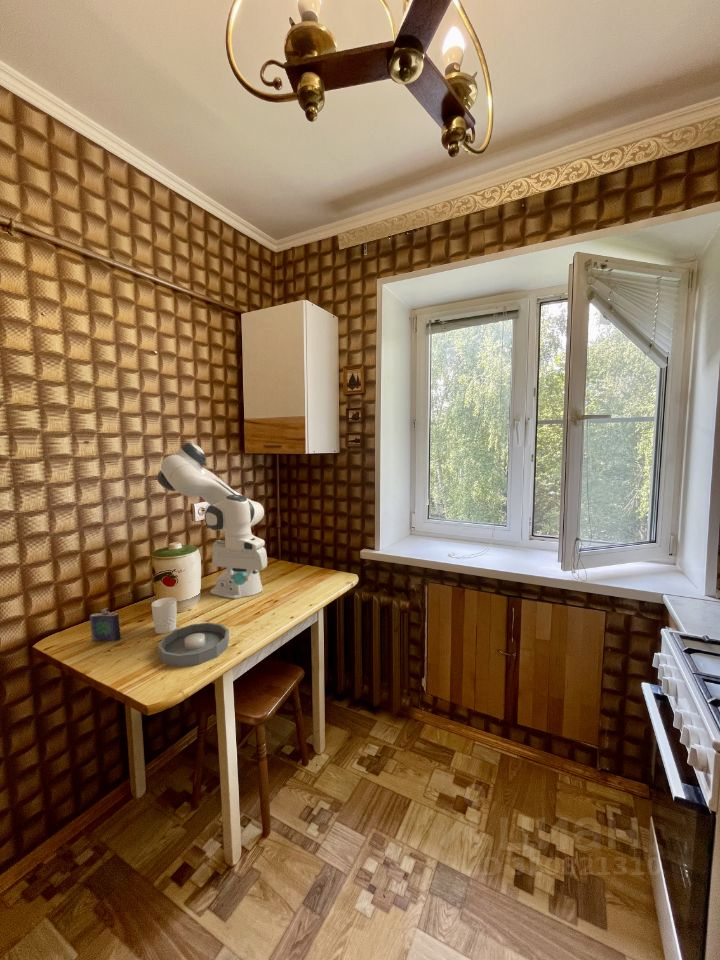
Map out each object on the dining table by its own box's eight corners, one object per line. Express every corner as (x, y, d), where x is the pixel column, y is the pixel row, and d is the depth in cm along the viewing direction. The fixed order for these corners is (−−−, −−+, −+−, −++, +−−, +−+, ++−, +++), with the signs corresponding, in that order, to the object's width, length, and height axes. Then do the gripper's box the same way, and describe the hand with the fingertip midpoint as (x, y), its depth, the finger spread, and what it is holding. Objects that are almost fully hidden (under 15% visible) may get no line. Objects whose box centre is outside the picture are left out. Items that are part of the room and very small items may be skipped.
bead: (231, 586, 133) (230, 573, 133) (238, 581, 138) (237, 569, 137) (242, 587, 132) (241, 574, 132) (249, 582, 137) (248, 570, 136)
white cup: (161, 623, 139) (159, 597, 138) (182, 624, 139) (180, 597, 138) (148, 634, 131) (146, 606, 130) (170, 635, 131) (168, 606, 130)
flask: (90, 642, 127) (87, 611, 126) (96, 637, 130) (93, 607, 129) (117, 641, 127) (115, 610, 126) (123, 637, 130) (121, 606, 129)
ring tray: (144, 661, 115) (143, 650, 115) (191, 629, 134) (190, 620, 134) (200, 671, 110) (200, 659, 109) (240, 636, 129) (240, 626, 128)
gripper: (207, 541, 133) (209, 580, 135) (259, 545, 128) (260, 585, 129) (218, 537, 139) (220, 574, 141) (268, 540, 134) (270, 579, 135)
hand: (240, 579), depth 135 cm, fingers closed on bead, 4 cm apart
